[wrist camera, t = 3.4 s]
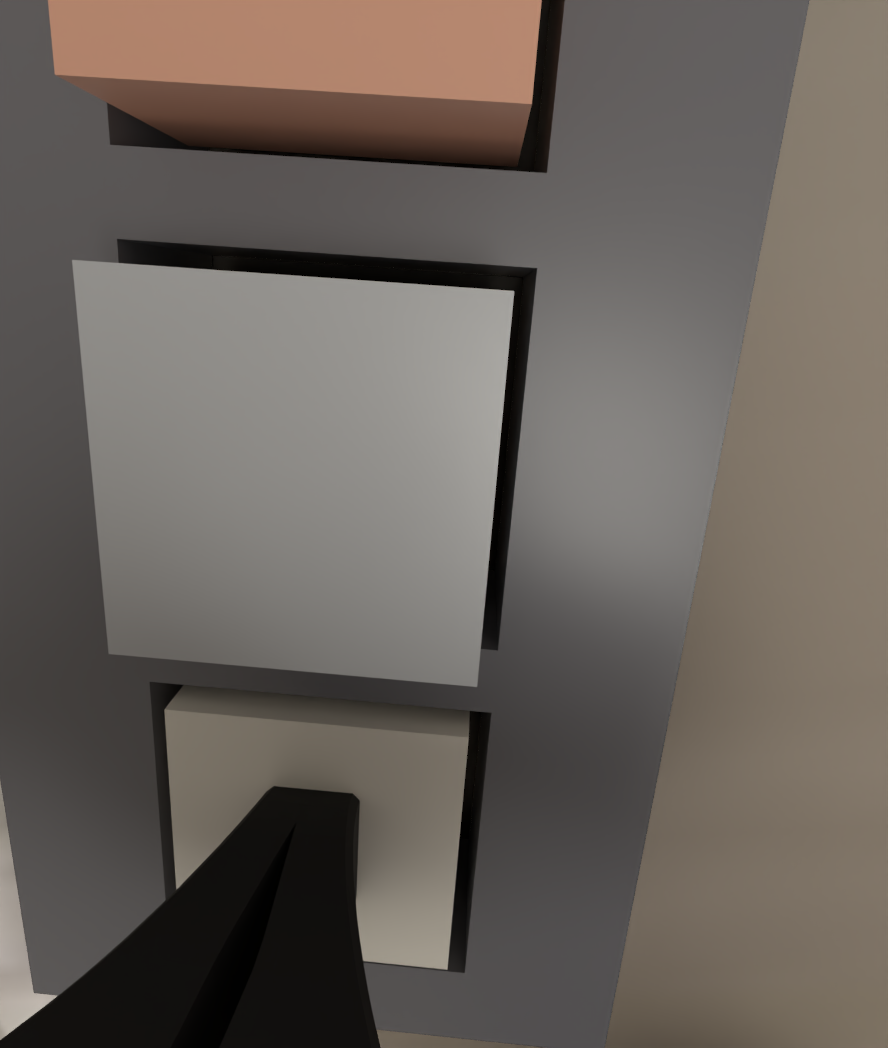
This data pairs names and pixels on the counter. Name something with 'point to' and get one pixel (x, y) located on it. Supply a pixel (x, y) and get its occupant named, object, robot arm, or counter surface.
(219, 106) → the terracotta key
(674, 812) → the counter surface
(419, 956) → the cream key
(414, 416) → the grey key
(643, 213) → the grey slotted base
